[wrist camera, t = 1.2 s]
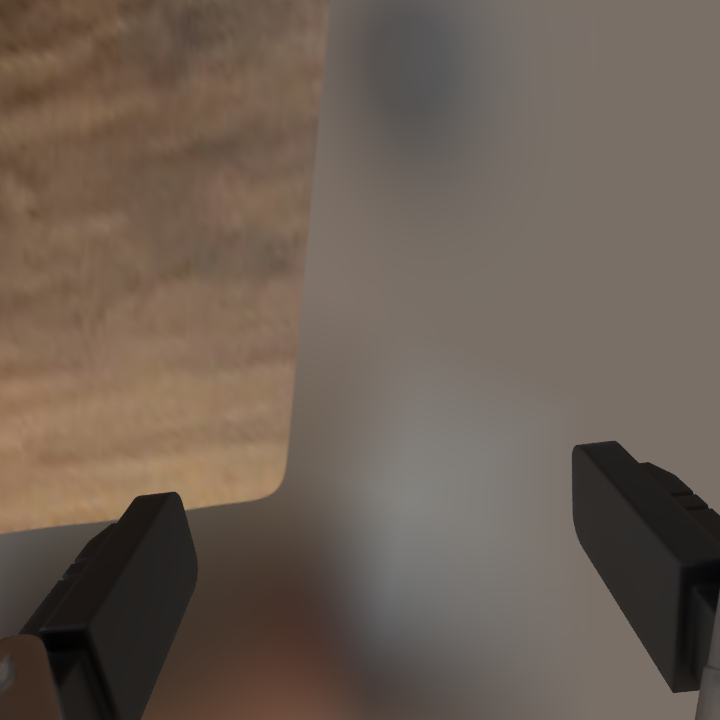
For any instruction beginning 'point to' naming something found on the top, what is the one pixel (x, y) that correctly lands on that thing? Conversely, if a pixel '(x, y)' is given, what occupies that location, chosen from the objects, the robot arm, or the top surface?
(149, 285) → the top surface
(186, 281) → the top surface
